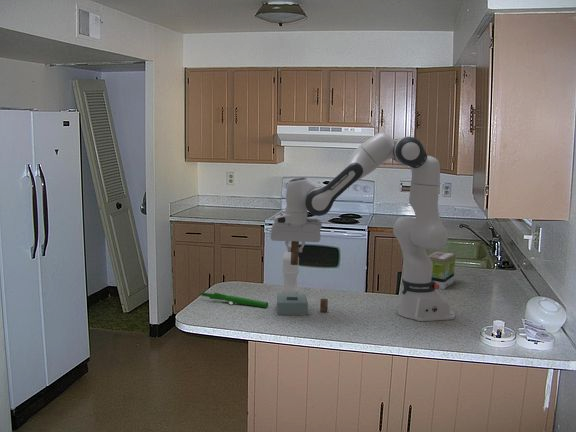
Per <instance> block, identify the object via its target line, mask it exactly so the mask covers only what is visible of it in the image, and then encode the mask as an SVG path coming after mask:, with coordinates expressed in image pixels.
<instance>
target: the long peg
mask: <svg viewBox="0 0 576 432" xmlns="http://www.w3.org/2000/svg"><path fill="white" fill-rule="evenodd" d="M299 244H300V242H298V241H292V242H291V265H298V257H299V252H298V251H299V247H300V245H299Z"/></svg>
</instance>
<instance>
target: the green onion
mask: <svg viewBox="0 0 576 432" xmlns="http://www.w3.org/2000/svg"><path fill="white" fill-rule="evenodd" d="M200 293H201V294H200V296H201V297H202V296H203V297H206V298H209V299H210V300H219V301H220V300H221V301H226V302H228V304H229V305H238V304H240V305H246V306H253V307H259V308H265V309H267V308H268V306H269V302H267V301H263V300H262V301H261V300H255V299H252V298H246V297H239V296H234V295H233V296H232V295H227V294H223V293H219V292H214V293H208V292H201V291H200Z"/></svg>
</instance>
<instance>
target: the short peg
mask: <svg viewBox="0 0 576 432" xmlns="http://www.w3.org/2000/svg"><path fill="white" fill-rule="evenodd" d="M319 301H320V304H319V305H320V306H319V308H320V309H319V310H320V311H319V312H320V313H328V308H329V303H328V302H329V299H327V298H323V297H322V298H320V299H319Z"/></svg>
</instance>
